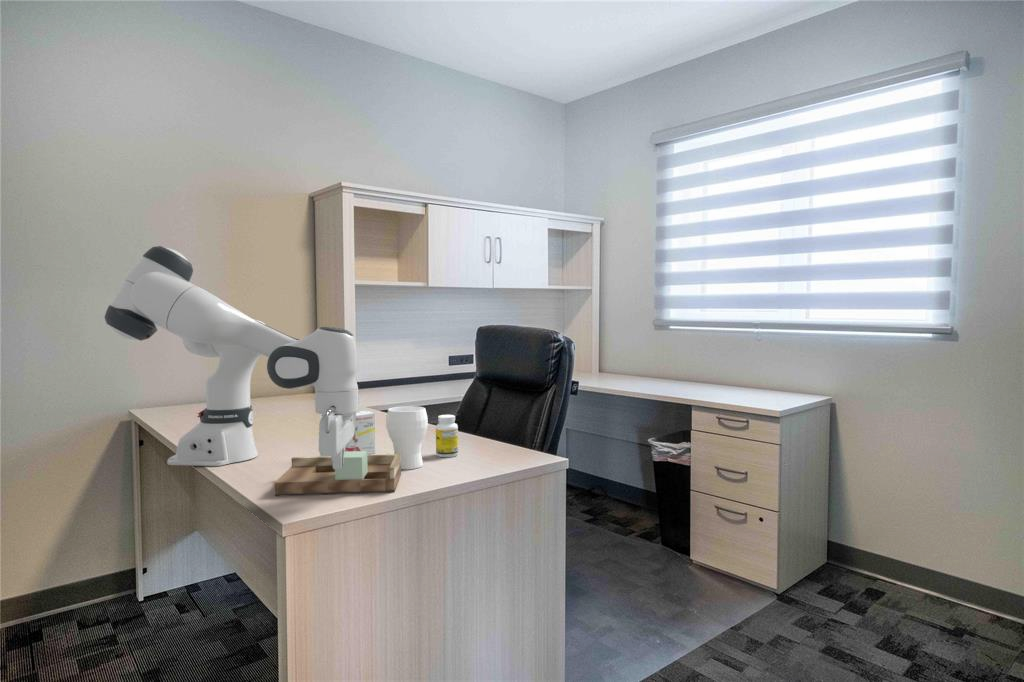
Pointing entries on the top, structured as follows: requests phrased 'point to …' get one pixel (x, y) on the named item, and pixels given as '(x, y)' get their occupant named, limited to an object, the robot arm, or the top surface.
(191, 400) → the top surface
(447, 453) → the pill bottle
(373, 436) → the ink box
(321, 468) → the wooden tray
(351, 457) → the block
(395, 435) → the cup
